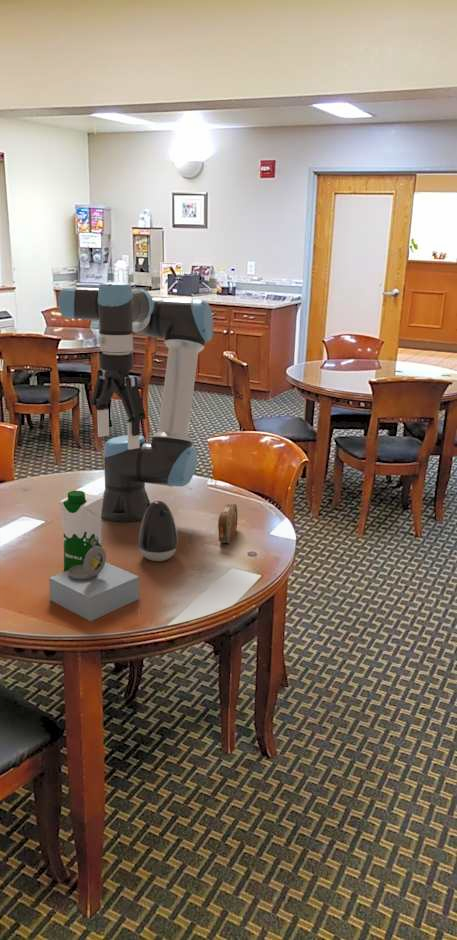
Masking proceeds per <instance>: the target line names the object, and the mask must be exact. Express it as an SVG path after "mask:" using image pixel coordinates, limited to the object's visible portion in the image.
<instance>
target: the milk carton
mask: <svg viewBox="0 0 457 940" xmlns="http://www.w3.org/2000/svg"><path fill="white" fill-rule="evenodd" d="M103 498H104V497H103V496H99V495H95V494H89V493H85V492H84V491H82V490H71V491H69V492H68V493H67V497H65V498H63V499H61V500H59V501H58V503H59V507H60V511H61V515H62V532H63V533H62V536H63V570H64V571H68V570H69V569H70V568H71V567H73V566H76V565H82V564H83V563H84V559H85V556H86V554H87V552H88V551H89V550H90V549H91V548H92V547H93V545H92V544H90V542H91V540H92V539H93V538H95V537H98V541H97V542H96V540H97V538H95V539H93V540H94V541H95V542H96V544H95V546H99V547H101V548H103V541H102V540H103V539H102V538H103V534H102V517H101V512H102V505H103ZM93 540H92V542H93ZM92 542H91V543H92Z"/></svg>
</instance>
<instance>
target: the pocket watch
mask: <svg viewBox="0 0 457 940" xmlns="http://www.w3.org/2000/svg"><path fill="white" fill-rule="evenodd" d="M95 538H97V540H96V542H97V541H98V537H95ZM95 538H93V539H95ZM93 539H92V540H93ZM92 540H91V542H92ZM91 542H90V544H92V545H93V547H92V548H91V549H90V550H89V551H88V552H87V554H86V556H85V559H84V563H83V564H82V565H76V566H73V567H71V568H70V569H69V570H67V571H68V575H69V576H70V577H71V578H74V579H80V580H84V579H89V578H92V577H95V576H96V575H97V574H99V573H100V572H101V570H102V569H103V567H104V565H105V562H107V560H106V559H107V553H106V551H105V549H104V548H103V547H102V548H101V547H99V546H95V544H96V542H95V541H94V540H93V542H92V543H91ZM91 561H92V564H91ZM95 563H98V564H96V565H95Z"/></svg>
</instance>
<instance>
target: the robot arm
mask: <svg viewBox="0 0 457 940" xmlns="http://www.w3.org/2000/svg"><path fill="white" fill-rule="evenodd" d="M57 302H58V309H59V312H60V315H62V317H64V318H65V319H66V318H67V319H73V320H86V321H92V322H99V324H98V328H99V330H98V333H99V339H98V342H99V351H101V353H100V354H99V368H100V369H97V371H96V381H95V386H94V390H93V394H92V398H91V405H92V406H94V408H95V410H96V412H97V413H96V415H97V418H96V420H97V437H98V438H101V437H102V438H103V437H109V436H110V418H109V417H110V415H109V414H110V412H109V410H110V409H109V408H110V407H109V403H110V401H111V399H112V397H113V395H114V394H116V395H117V396H118V398H120V400H121V403H122V405H123V408H124V410H125V413H126V415H127V417H128V419H127V420H126V421H127V423H126V424H127V425H126V426H127V434H126V435H119V436H116V437H112V438H110V439H108V440H107V441H106V442H105V443H104V448H103V450H104V452H103V462H104V464H103V466H104V467H103V468H104V471H103V472H104V491H103V493H102V497H104V498H103V505H102V512H101V518H102V519H105V520H107V521H111V522H117V523H119V522H121V523H129V522H136V521H142V519H143V516H144V513H145V511H146V509H147V508H148V506H149V505H150V504H151V502H150V499H149V495H148V493H147V490H146V486H145V485H146V484H152V485H153V484H154V485H160V486H161V485H162V486H168V487H171V488H172V487H180V488H181V487H185V486H187V485H188V484H189V483H190V482H191V480H192V479H193V476H194V474H195V471H196V468H197V464H198V450H197V449H196V447H194V446H193V440H192V439H191V437H190V436H189V429H190V422H191V421H190V420H191V413H192V405H193V398H194V391H195V382H196V374H197V373H196V372H197V368H198V367H197V365H198V358H199V357H198V356H199V353H200V352H202V351H203V350H204V349H205V345H206V343H207V342H210V341H212V339H213V335H214V318H213V312H212V308H211V306H210V304H209V302H207V301H205V300H204V299H196V298H193V297H191V298H180V297H179V298H176V297H174V298H173V297H153V296H152V294H151V293H149V292H148V291H147V290H145V289H143V288H142V289H141V288H132V284H131V283H128V282H118V281H117V282H116V281H115V282H112V281H111V282H110V281H109V282H101V283H100V284H99V285H98V287H80V286H79V287H78V286H66V287H63V288H62V289H61V290H60V293H59V295H58V301H57ZM133 333H137V334H141V335H143V336H147V337H152V338H156V339H157V338H158V339H164V345H165V346H166V348H167V349H168V351H167V352H168V353H167V360H166V368H165V374H164V376H165V377H164V385H163V390H162V391H163V392H162V399H161V409H160V415H159V423H158V430H157V432H155V433H154V434H153V435H152V437H151V442H146V439H145V436H143V435H141V434H140V433H141V424H140V423H141V421H144V420H146V418H147V417H146V412H145V409H144V405H143V401H142V397H141V393H140V391H139V384H138V383H139V381H138V377H137V376H132V377H131V376H130V374H129V372H130V371H132V370H133V368H134V354H133V353H132V352H133V351H134V338H133V336H134V335H133Z"/></svg>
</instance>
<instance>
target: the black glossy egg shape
mask: <svg viewBox="0 0 457 940" xmlns="http://www.w3.org/2000/svg"><path fill="white" fill-rule="evenodd" d="M177 530H178V529H177V526H176V522H175V518H174V516H173V513H172V511H171V509H170V507H169V506H168V504H166V503H165V502H164V501H160V500H155V501H152V502H150V505H149V506H148V508H147V509H146V511H145V513H144V516H143V519H141V523H140V527H139V532H138V539H137V546H138V548H139V550H140V553H141V555H142V556H143V557H144V558H145V559H147V560H148V561H151V562H163V561H166V560H169V559H170V558H172V557H173V555H174V554H175V553H176V551H177V547H178V545H179V536H178V531H177Z"/></svg>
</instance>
